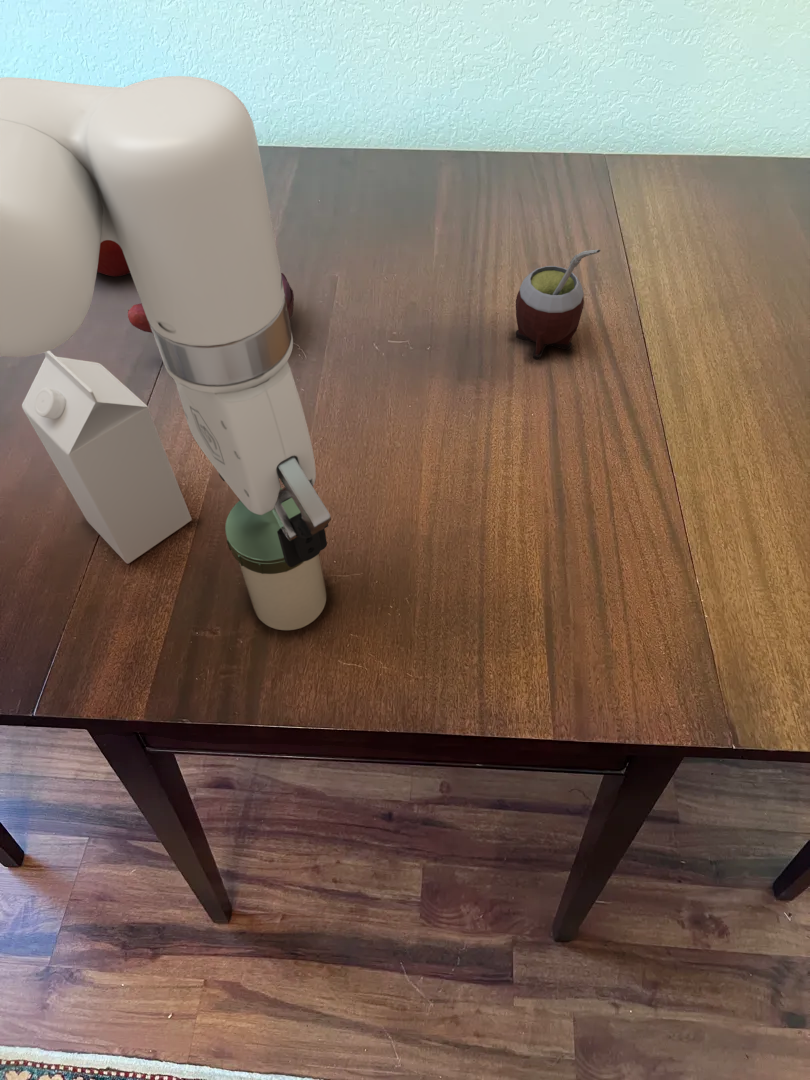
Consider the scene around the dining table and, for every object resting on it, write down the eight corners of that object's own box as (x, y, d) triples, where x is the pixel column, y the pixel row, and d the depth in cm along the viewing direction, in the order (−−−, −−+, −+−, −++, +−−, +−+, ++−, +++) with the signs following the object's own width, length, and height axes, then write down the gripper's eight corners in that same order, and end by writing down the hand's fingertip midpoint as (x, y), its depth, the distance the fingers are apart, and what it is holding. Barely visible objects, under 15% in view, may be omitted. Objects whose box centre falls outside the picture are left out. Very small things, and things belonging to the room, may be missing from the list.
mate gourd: (521, 315, 90) (538, 192, 77) (588, 330, 88) (617, 207, 76) (502, 356, 86) (517, 234, 73) (572, 373, 84) (599, 251, 72)
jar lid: (228, 578, 58) (223, 564, 57) (231, 506, 62) (226, 491, 61) (320, 570, 59) (317, 555, 57) (316, 498, 63) (314, 484, 61)
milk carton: (150, 479, 76) (82, 323, 60) (193, 521, 73) (133, 367, 57) (86, 521, 73) (-3, 367, 58) (128, 566, 70) (46, 417, 55)
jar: (252, 634, 66) (228, 565, 57) (253, 570, 70) (230, 497, 61) (328, 626, 66) (315, 557, 58) (324, 564, 70) (312, 490, 61)
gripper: (99, 277, 47) (174, 464, 61) (238, 450, 39) (288, 620, 53) (210, 232, 49) (258, 421, 63) (364, 385, 41) (380, 564, 55)
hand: (272, 511), depth 58 cm, fingers open, 9 cm apart
